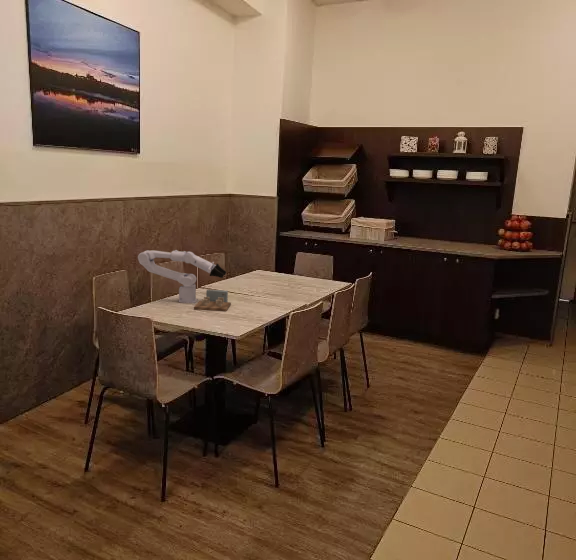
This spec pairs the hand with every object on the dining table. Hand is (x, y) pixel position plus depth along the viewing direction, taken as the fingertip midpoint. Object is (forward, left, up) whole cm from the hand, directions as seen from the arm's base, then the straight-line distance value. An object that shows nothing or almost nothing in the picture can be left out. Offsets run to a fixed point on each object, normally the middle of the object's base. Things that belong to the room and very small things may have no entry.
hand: (224, 274), depth 291 cm
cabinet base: (-4, -11, -17) cm, 21 cm away
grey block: (-4, +1, -17) cm, 17 cm away
